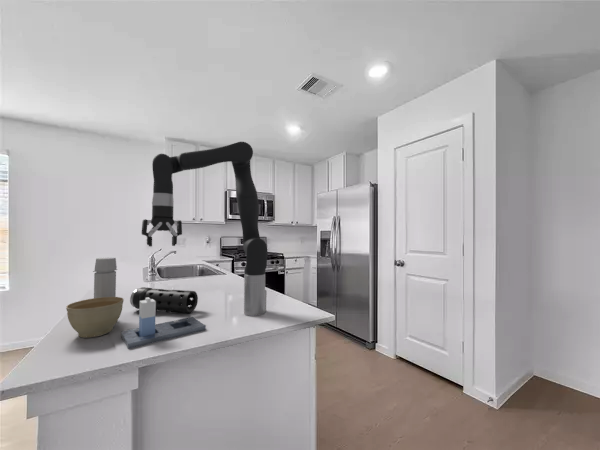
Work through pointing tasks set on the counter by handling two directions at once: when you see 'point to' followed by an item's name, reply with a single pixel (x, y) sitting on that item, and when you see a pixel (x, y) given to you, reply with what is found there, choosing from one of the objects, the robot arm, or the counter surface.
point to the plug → (147, 317)
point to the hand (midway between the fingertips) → (162, 246)
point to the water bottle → (105, 277)
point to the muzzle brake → (166, 299)
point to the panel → (163, 332)
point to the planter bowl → (94, 315)
